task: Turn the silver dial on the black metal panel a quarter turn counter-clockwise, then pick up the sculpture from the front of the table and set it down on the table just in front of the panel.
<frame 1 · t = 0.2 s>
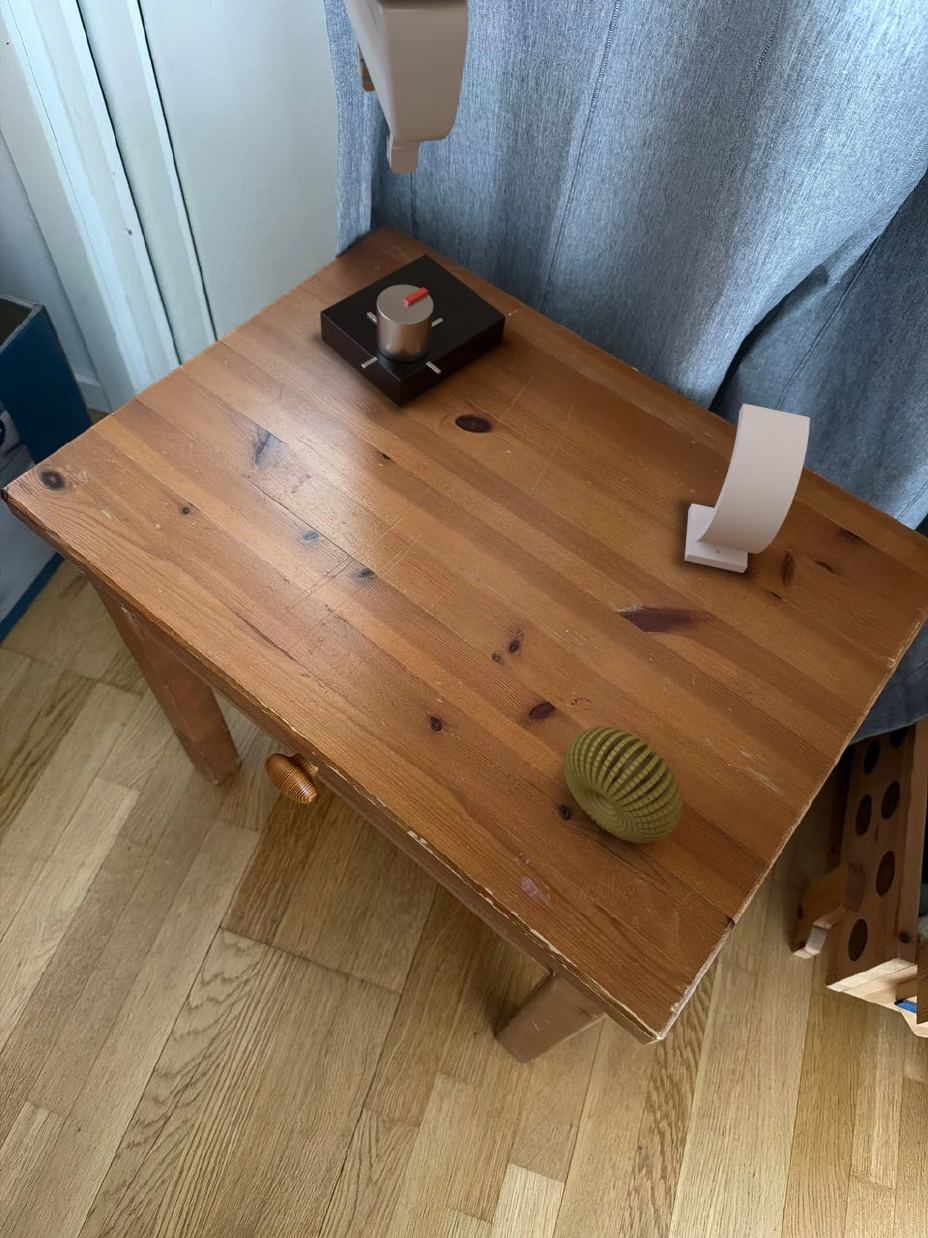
hand: (386, 124, 62), 18 cm above the table, tool pointing down, fingers open, 8 cm apart
headphone stand: (714, 547, 70), on the table
dial: (404, 322, 71), point 5 cm above the table, hinge at 0.0°
panel: (412, 341, 77), on the table
sculpture: (605, 806, 58), on the table
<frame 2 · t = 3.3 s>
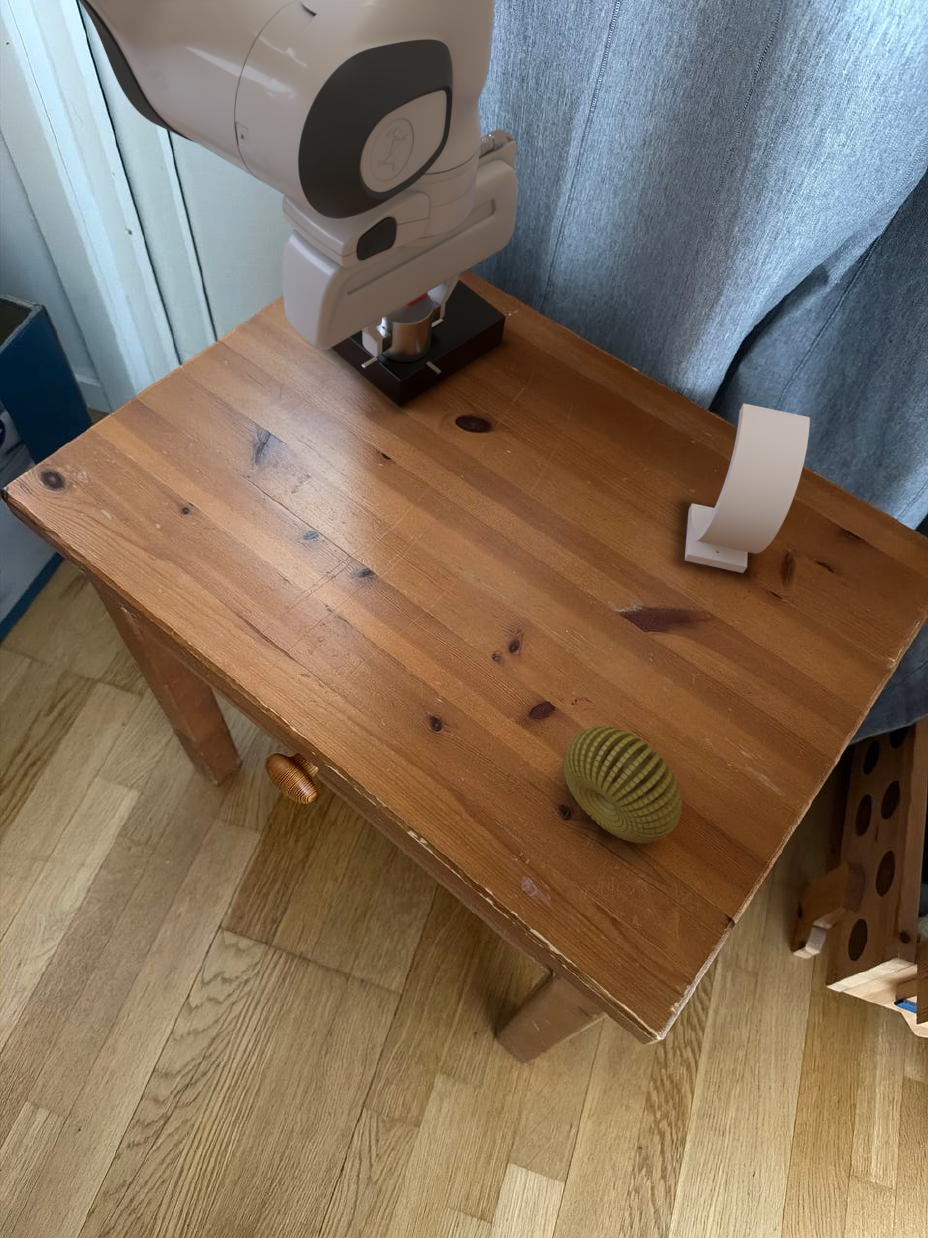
hand: (403, 332, 72), 4 cm above the table, tool pointing down, fingers closed on dial, 4 cm apart
dial: (404, 322, 71), point 5 cm above the table, hinge at 0.2°, touching gripper
everything else where it was.
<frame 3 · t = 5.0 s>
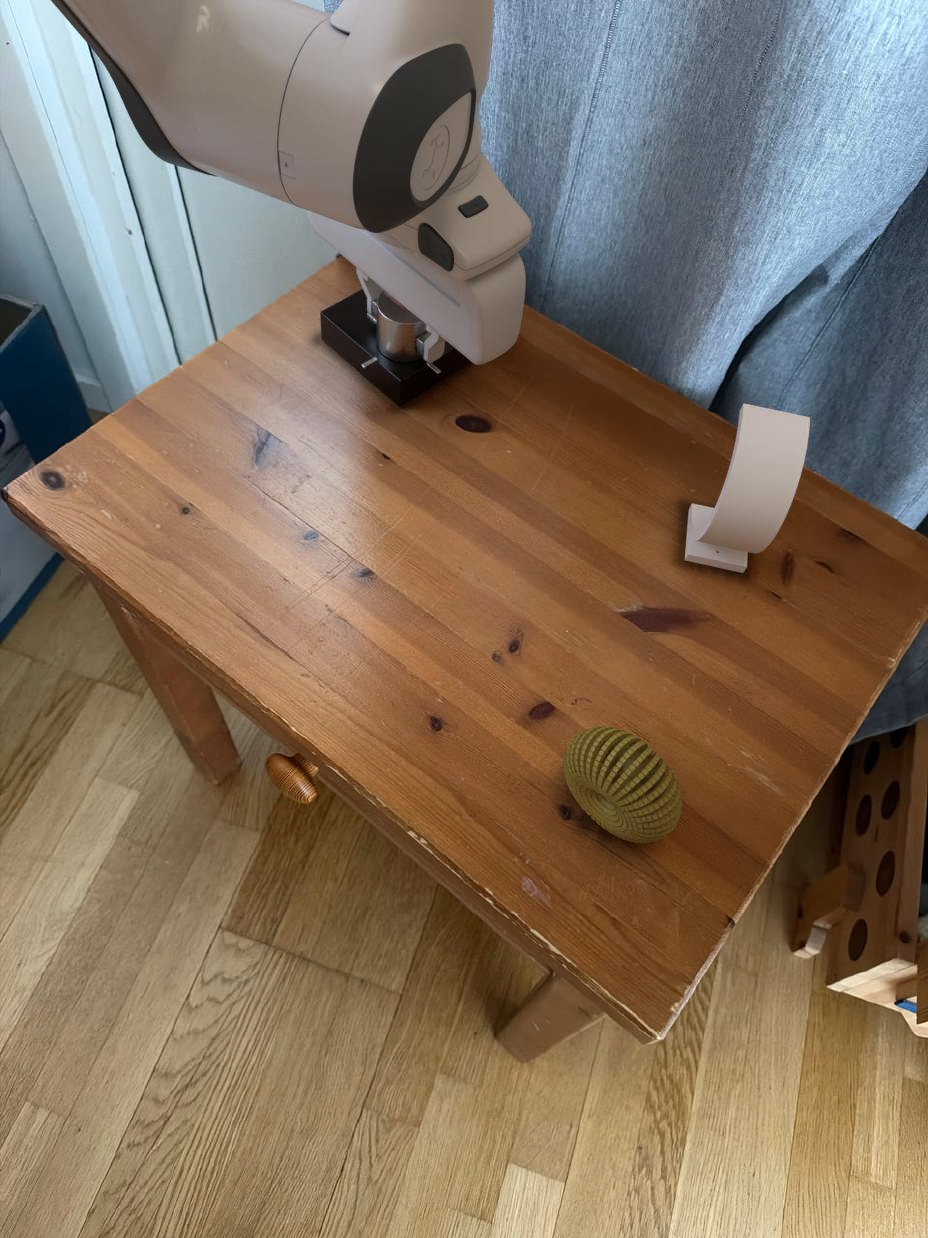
hand: (405, 334, 72), 4 cm above the table, tool pointing down, fingers closed on dial, 4 cm apart
dial: (404, 322, 71), point 5 cm above the table, hinge at 89.4°, touching gripper
everything else where it was.
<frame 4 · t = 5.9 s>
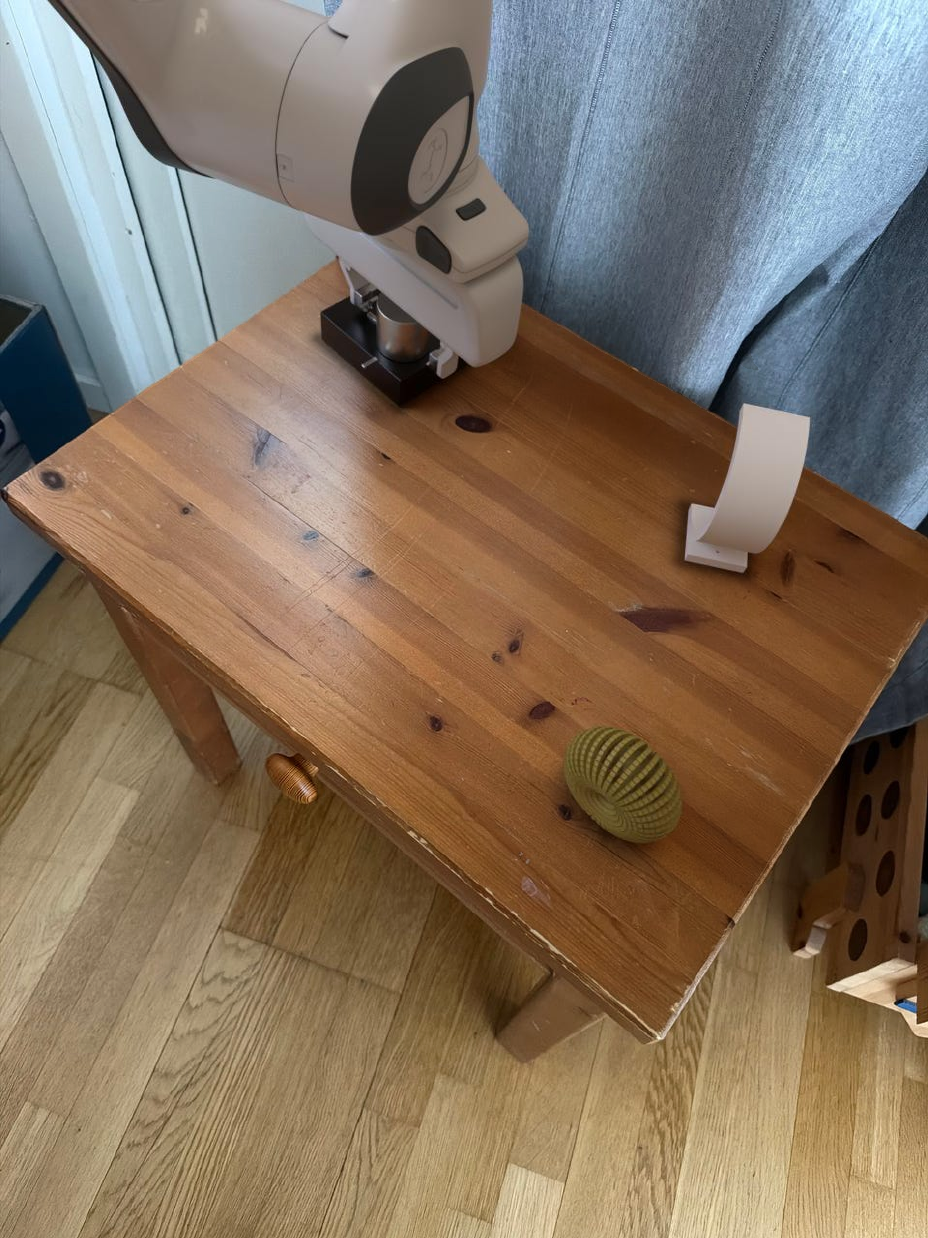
hand: (402, 336, 72), 4 cm above the table, tool pointing down, fingers open, 8 cm apart
dial: (404, 322, 71), point 5 cm above the table, hinge at 89.5°
everything else where it was.
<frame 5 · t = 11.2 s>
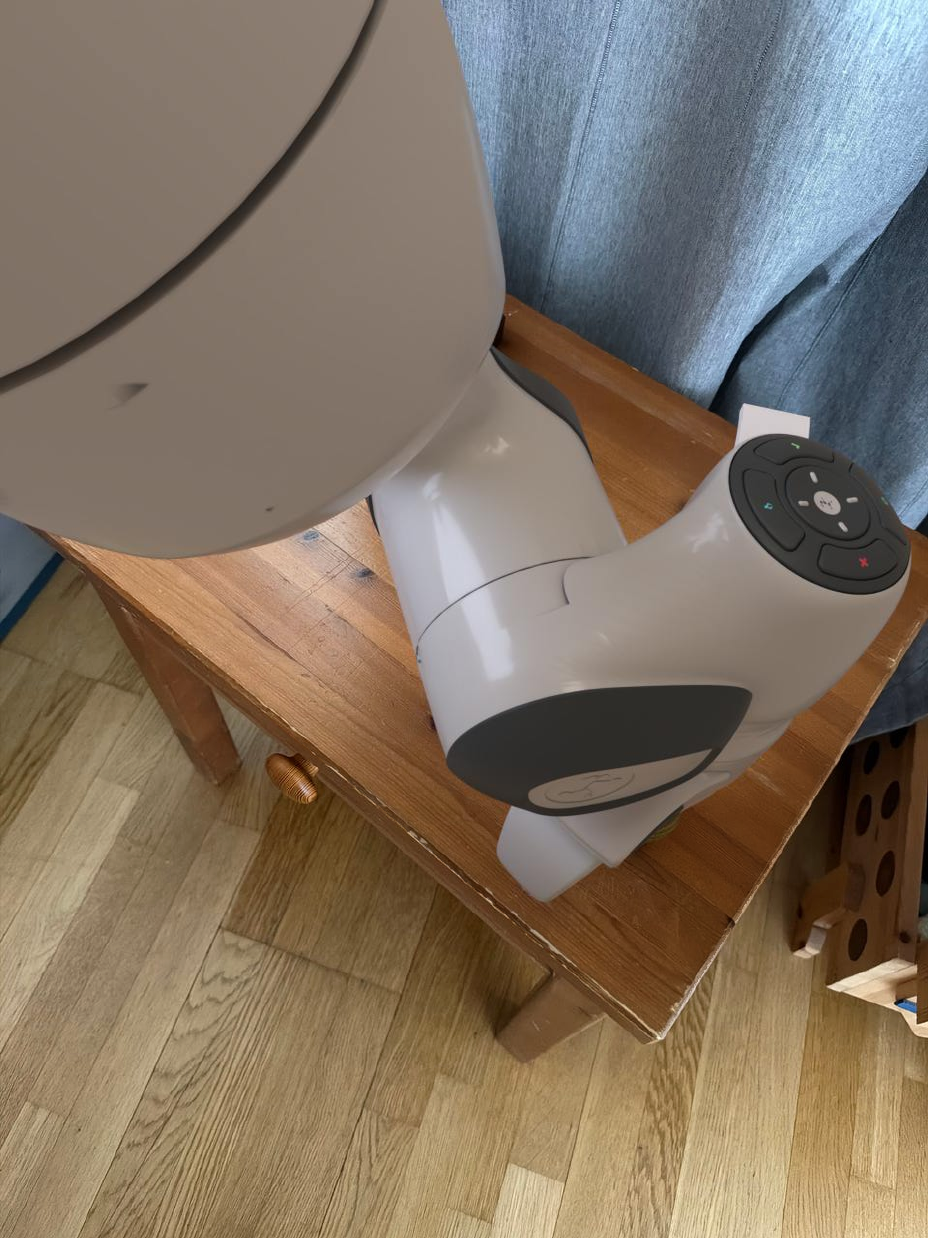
hand: (615, 791, 56), 3 cm above the table, tool pointing down, fingers closed on sculpture, 4 cm apart
sculpture: (605, 806, 58), on the table, touching gripper
everything else where it was.
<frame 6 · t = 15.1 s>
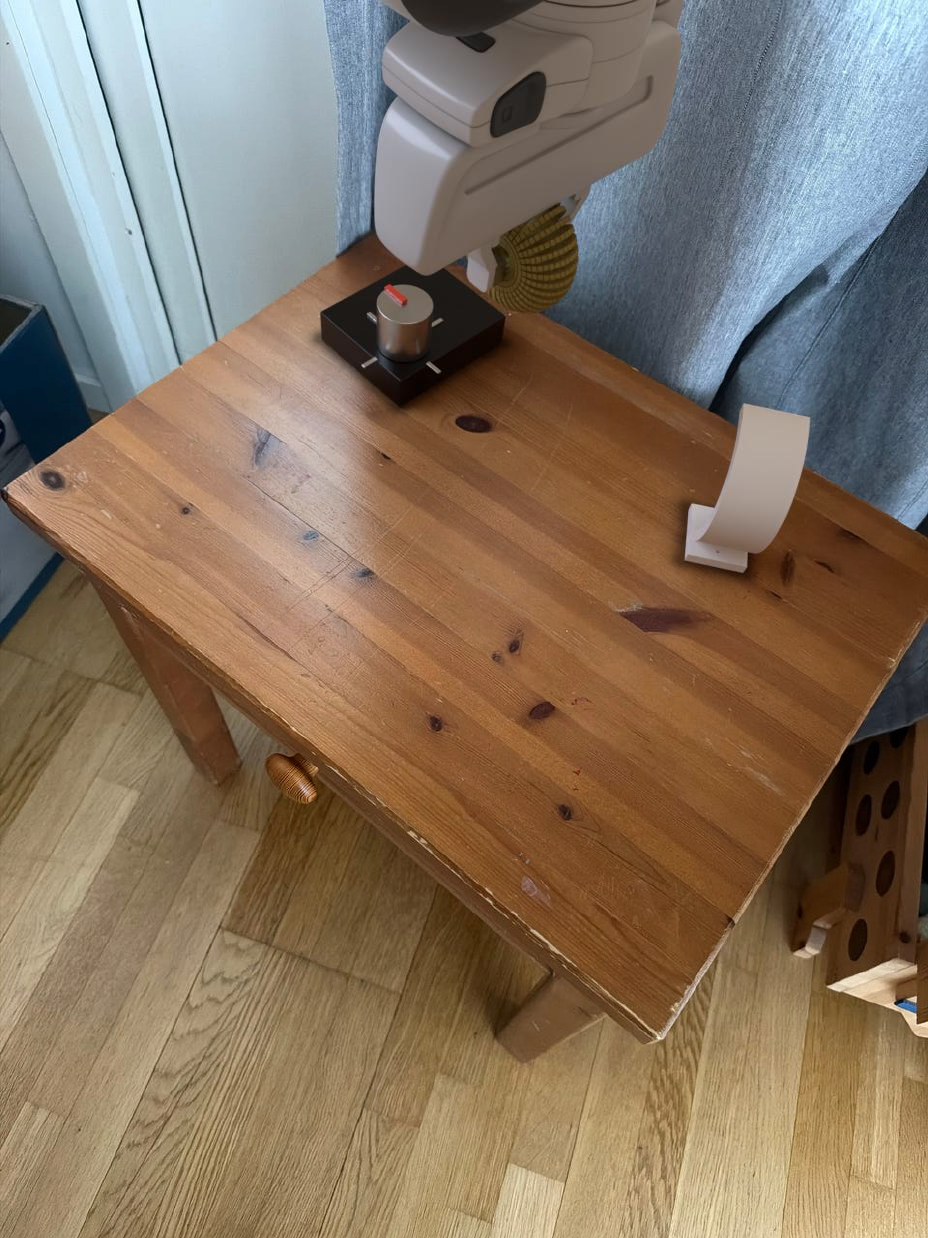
hand: (515, 264, 55), 19 cm above the table, tool pointing down, fingers closed on sculpture, 4 cm apart
sculpture: (510, 302, 58), point 16 cm above the table, touching gripper
everything else where it was.
when the fingers open (3 cm above the table, at t = 19.1 s): sculpture stays where it is, on the table.
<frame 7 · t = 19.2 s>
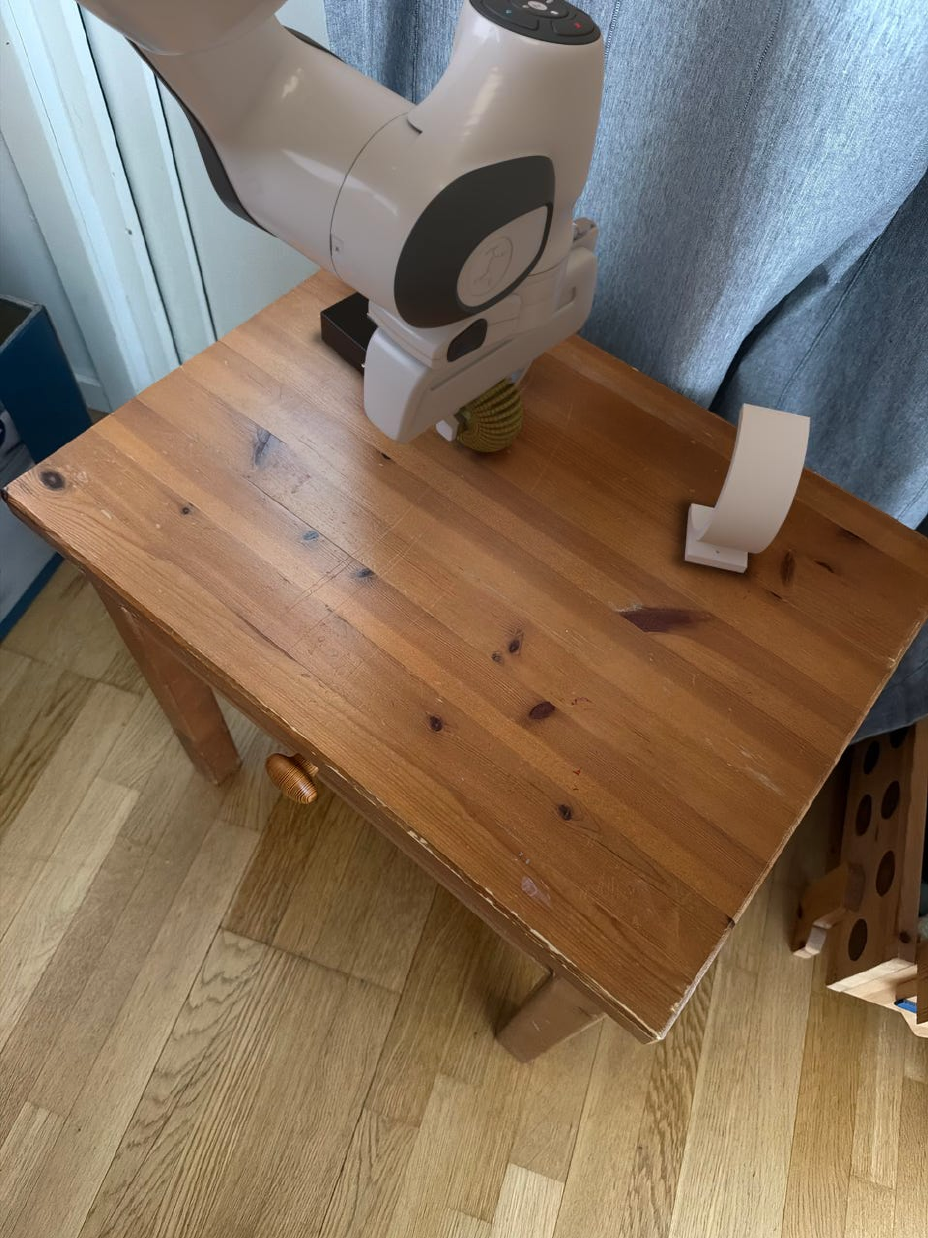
hand: (475, 415, 70), 3 cm above the table, tool pointing down, fingers open, 4 cm apart
sculpture: (472, 439, 73), on the table
everything else where it was.
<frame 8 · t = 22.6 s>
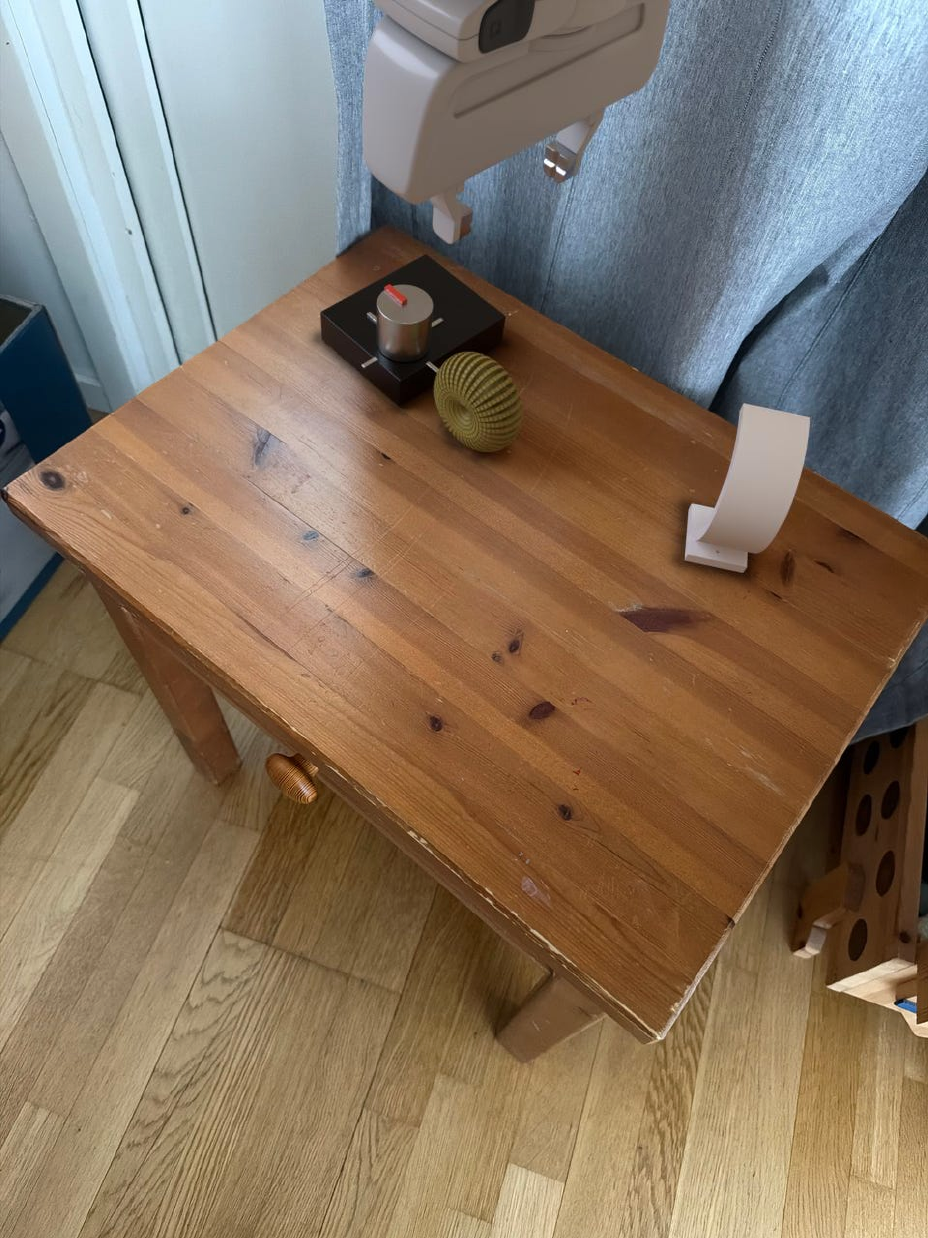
hand: (507, 203, 54), 21 cm above the table, tool pointing down, fingers open, 8 cm apart
nothing on the table moved.
at the end: dial at +90° (first picture: +0°); sculpture inside the target area on the table beside the panel (0.1 cm from its centre), on the table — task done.
